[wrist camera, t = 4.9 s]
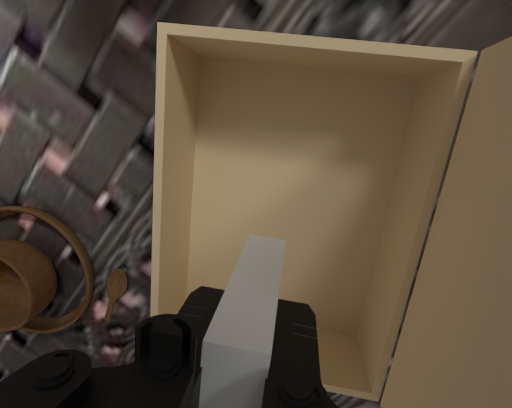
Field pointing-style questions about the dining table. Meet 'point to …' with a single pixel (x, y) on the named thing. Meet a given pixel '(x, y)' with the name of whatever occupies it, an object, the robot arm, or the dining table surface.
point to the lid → (466, 265)
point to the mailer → (303, 175)
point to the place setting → (43, 280)
